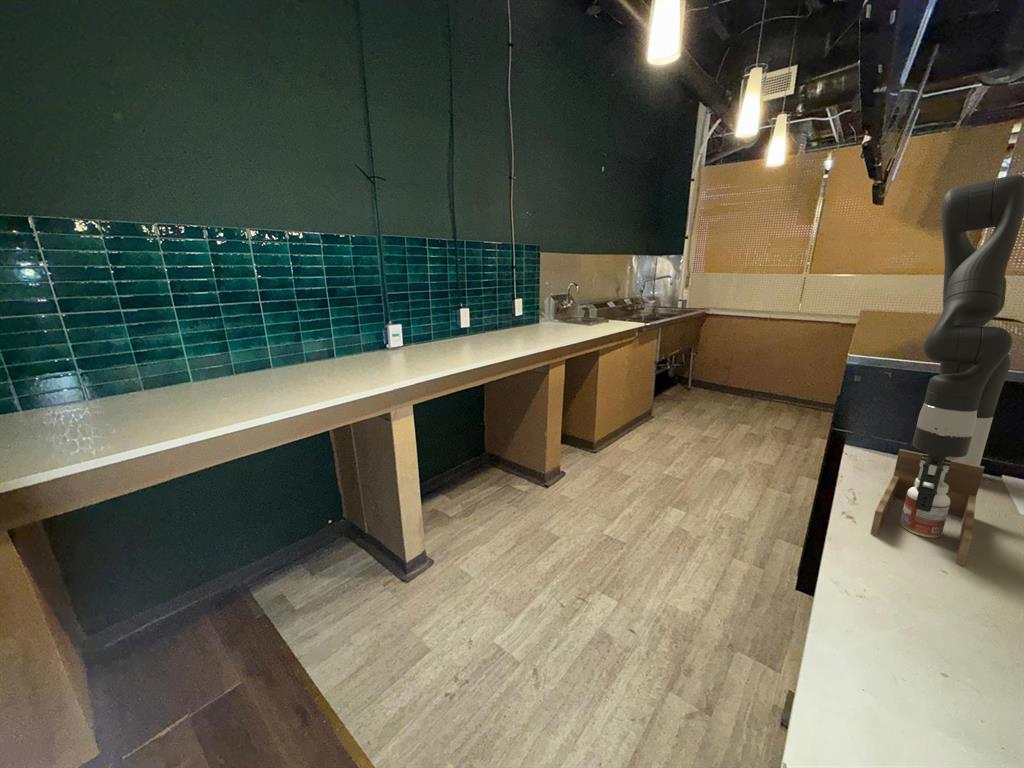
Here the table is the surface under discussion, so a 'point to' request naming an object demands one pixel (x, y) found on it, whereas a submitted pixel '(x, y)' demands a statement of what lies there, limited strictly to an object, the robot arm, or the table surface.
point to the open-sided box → (960, 492)
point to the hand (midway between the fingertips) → (925, 502)
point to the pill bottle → (922, 520)
